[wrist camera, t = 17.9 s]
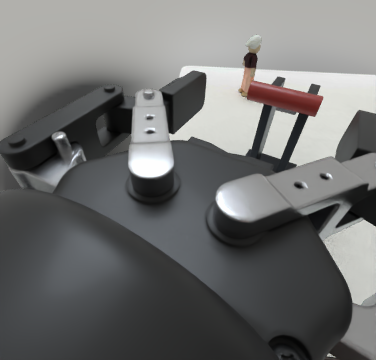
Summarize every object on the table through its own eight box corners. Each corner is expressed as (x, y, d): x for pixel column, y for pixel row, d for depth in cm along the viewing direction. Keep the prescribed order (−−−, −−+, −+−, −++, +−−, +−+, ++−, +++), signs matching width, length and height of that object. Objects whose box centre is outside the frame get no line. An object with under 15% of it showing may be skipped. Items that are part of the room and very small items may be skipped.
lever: (312, 122, 18) (326, 90, 17) (243, 104, 20) (253, 73, 19) (309, 118, 29) (318, 98, 28) (264, 106, 30) (271, 87, 29)
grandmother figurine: (258, 97, 58) (273, 39, 49) (244, 99, 57) (257, 40, 48) (244, 85, 63) (255, 30, 54) (231, 86, 62) (240, 31, 53)
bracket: (279, 212, 32) (327, 115, 22) (226, 190, 35) (246, 95, 25) (294, 170, 39) (336, 80, 28) (247, 154, 41) (271, 67, 31)
